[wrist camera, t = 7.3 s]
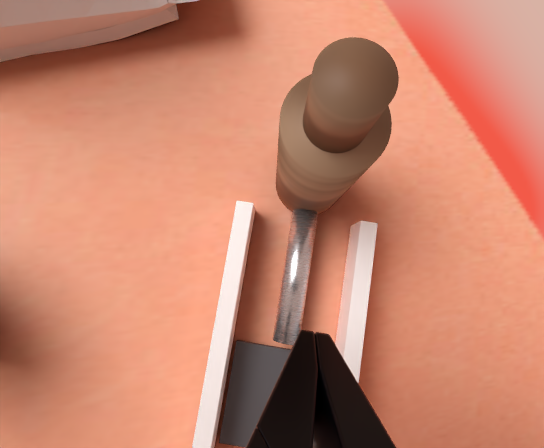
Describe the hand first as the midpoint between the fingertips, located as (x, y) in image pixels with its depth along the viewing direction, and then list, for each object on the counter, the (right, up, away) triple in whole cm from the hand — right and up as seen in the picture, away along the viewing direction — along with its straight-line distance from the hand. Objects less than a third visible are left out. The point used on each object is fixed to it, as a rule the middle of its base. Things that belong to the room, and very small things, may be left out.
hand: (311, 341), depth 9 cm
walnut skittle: (+1, +6, +13) cm, 14 cm away
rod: (0, 0, +12) cm, 12 cm away
